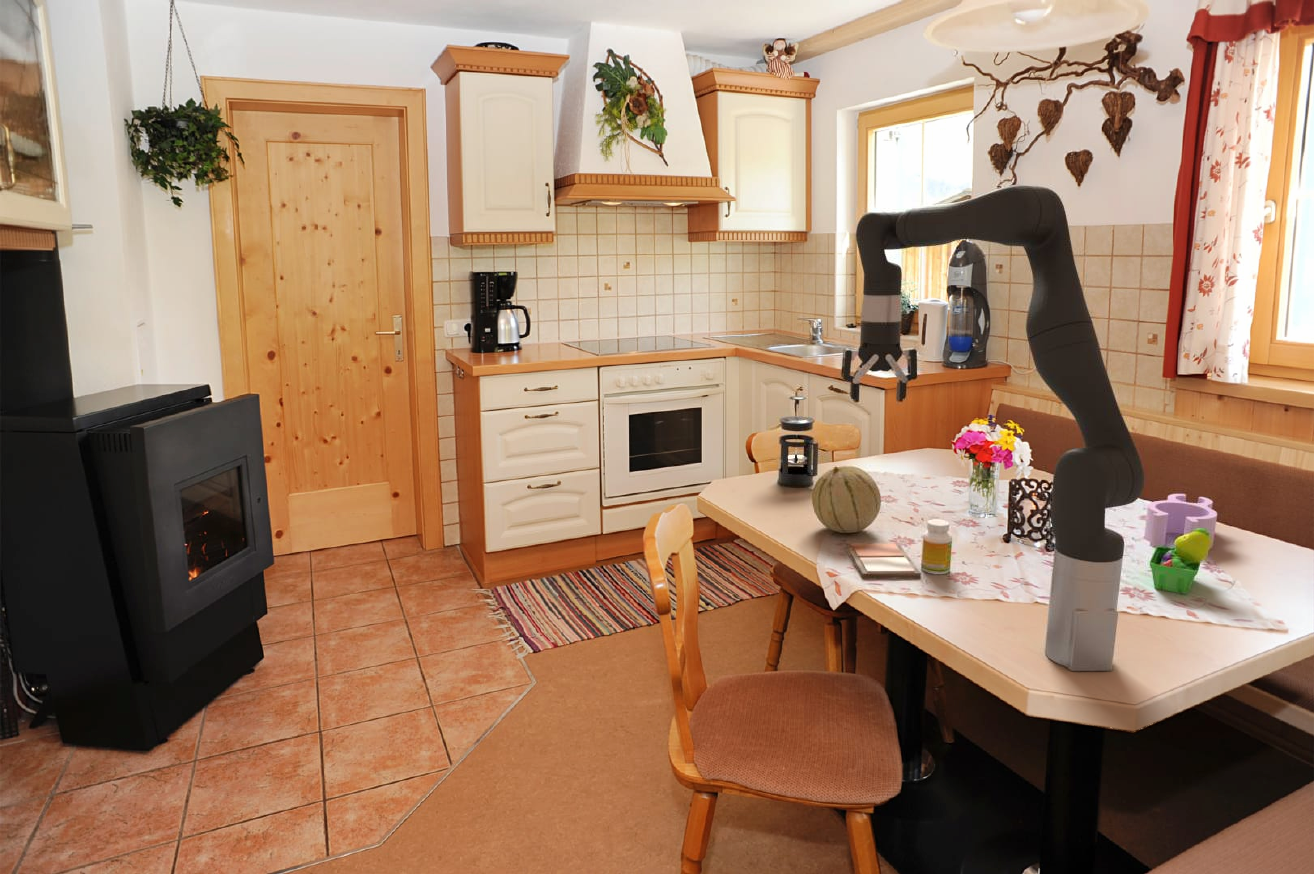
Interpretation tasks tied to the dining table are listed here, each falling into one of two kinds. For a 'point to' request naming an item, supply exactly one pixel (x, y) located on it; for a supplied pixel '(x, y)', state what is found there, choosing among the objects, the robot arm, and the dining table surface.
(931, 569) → the supplement bottle
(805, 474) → the french press
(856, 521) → the cantaloupe
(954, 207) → the robot arm
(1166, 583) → the fruit basket
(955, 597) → the dining table surface
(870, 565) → the makeup palette
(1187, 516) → the clip
